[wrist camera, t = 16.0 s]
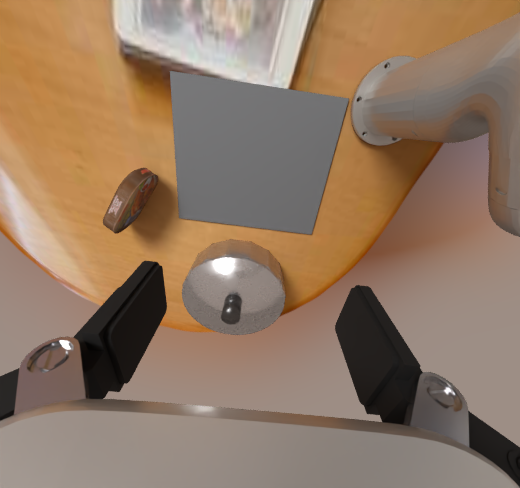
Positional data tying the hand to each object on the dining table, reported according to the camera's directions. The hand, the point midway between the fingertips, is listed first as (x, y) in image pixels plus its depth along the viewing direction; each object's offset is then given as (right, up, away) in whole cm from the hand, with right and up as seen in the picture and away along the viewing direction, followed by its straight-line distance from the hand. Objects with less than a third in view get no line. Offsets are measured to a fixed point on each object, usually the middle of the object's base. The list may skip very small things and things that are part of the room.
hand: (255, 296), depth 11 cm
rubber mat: (-1, +18, +32) cm, 36 cm away
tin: (-25, +13, +35) cm, 45 cm away
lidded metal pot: (-6, -7, +46) cm, 46 cm away
